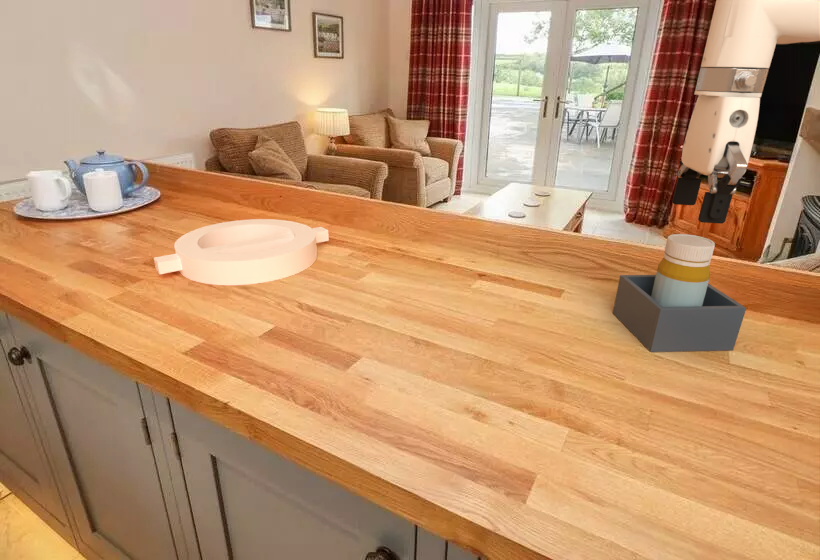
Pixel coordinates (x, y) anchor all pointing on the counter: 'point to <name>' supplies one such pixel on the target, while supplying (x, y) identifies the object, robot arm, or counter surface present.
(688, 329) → the box
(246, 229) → the peach handled dish
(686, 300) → the bottle
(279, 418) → the counter surface
